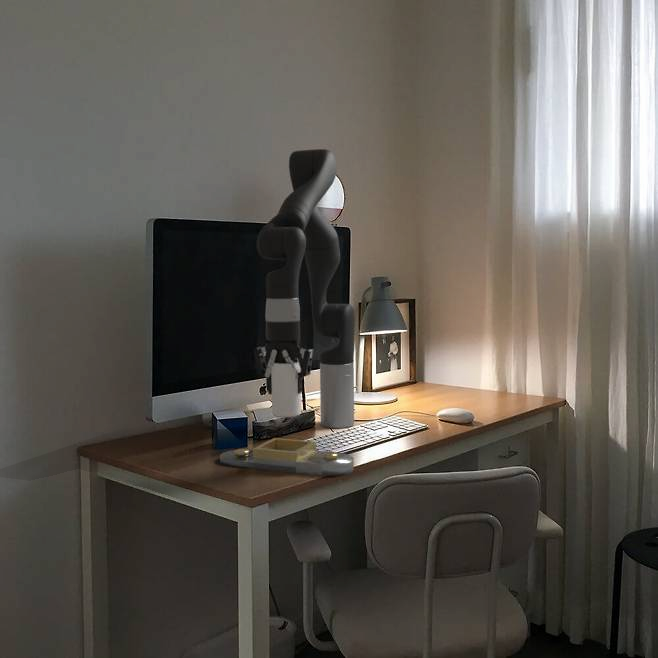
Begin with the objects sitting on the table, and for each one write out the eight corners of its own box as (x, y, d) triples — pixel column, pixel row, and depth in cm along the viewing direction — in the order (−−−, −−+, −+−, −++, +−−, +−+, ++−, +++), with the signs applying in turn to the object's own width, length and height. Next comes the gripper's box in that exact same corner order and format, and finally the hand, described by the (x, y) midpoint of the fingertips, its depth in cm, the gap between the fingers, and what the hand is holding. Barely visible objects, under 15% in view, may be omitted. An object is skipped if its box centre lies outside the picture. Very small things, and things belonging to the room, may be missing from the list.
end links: (211, 463, 174) (210, 444, 173) (234, 452, 184) (234, 434, 183) (343, 478, 162) (342, 457, 161) (360, 465, 171) (360, 445, 171)
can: (301, 411, 175) (300, 359, 174) (301, 417, 168) (300, 363, 167) (272, 412, 175) (271, 359, 173) (271, 418, 168) (270, 363, 167)
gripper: (319, 318, 170) (320, 393, 172) (261, 316, 176) (263, 390, 177) (305, 320, 163) (306, 399, 165) (245, 319, 169) (247, 395, 170)
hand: (284, 394), depth 171 cm, fingers closed on can, 5 cm apart
